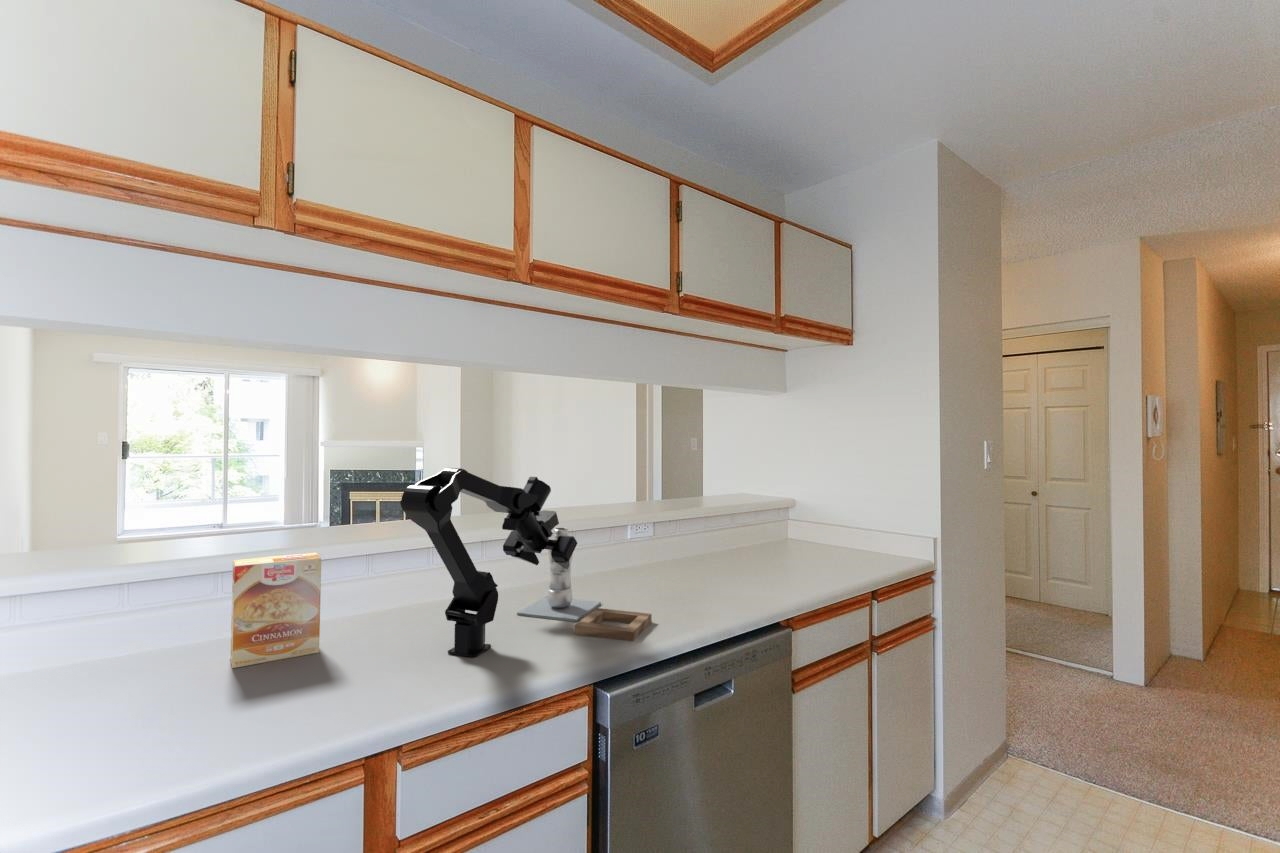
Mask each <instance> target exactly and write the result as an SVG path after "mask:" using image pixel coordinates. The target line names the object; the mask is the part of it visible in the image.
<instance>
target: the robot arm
mask: <svg viewBox="0 0 1280 853" xmlns="http://www.w3.org/2000/svg"><path fill="white" fill-rule="evenodd" d="M551 491H552V489H551V486H550V485H548V483H546V482H544V481H543V480H541V479H539V478H538V476H529V477H528V479H527V481H526V483H525V485H524V487H523V488H521V487H513V486H504V485H498V484H496V483H494V482H492V481H490V480H487V479H485V478H482V477H480V476H478V475H476V474H473V473H471V472H469V471H468V470H466V469H464V468H458V467H446V468H443V469H441V470H440V471H439V472H437V473H436V474H433V475H431V476H428V477H427V478H424V479H421V480H419V481H417V483H415V484H411V485H410V484H409V486H407V487H406V488H405V489H404V490H403V493H402V495H401V500H400V501H399V502H400V506H401V509H402V511H403V512H404V514H406V516H407V517H408V518H409V519H410V521H412V522H413V523H415V524H416V525H417V526H419V527H420V528H421V529H423V530H424V531H425V532H426V534H427V536H428V537H429V539H430V541H431V543H432V544H433V546H434V548H435V550H436V552H437V554H438V555H439V557H440V559H441V561H442V562H443V564H444V566H445V568H446V570H447V571H448V574H449V575H450V577H451V578H452V580H453V587H452V595H453V598H452V599H451V601H450V602H449V605H448V606H447V608H446V609H445V611H444V613H445V618H446V621H448V622H450V621H452V622H455V623H454V644H453V645H454V647H452V648H450V649H449V650H447V654H448V655H449V654H450V655H456V656H462V657H463V656H465V657H470V658H475V657H478V656H479V655H481V654H482V653H484V652H486V651H487V650H490V648H491V647H492V644H489V643H486V624H488V623H491V622H493V621H494V619H495V614H496V611H497V607H498V606H497V605H498V601H499V591H498V587H499V586H498V584H497V583H496V582H495V581H494V578H493V575H492V573H491V572H490V571H489V572H488V571H481V570H477V568H476V566H475V564H474V562H473V560H472V559H471V556H470V554H469V553H468V550H467V548H466V547H465V545H464V543H463V541H462V539H461V537H460V535H459V533H458V531H457V530H456V528H455V526H454V524H453V522H452V520H451V517H452V512H453V505H452V504H453V503H455V502H456V501H457V500H458V499H459V496H460V493H461V494H465V495H467V496H469V497H472V498H475V499H478V500H480V501H483V502H484V503H485V504H486V506H487V507H488V508H489V509H491V510H493V512H496V513H501V514H503V513H505V514H507V515H506V516H505V518H504V519H503V522H502V526H501V529H502V531H503V530H505V531H510V533H509V535H508V536H507V538H506V539H505V542H503V545H502V551H503V552H504V553H505V555H506V556H510V557H512V558H516V559H518V560H521V561H524V562H527V563H529V564H532V565H535V566H538V565H539V564H540V561H539V558H538V556H537V554H541V553H542V551H543V550H548V549H549V550H552V551H551V557H552V558H553V559H554V560H555V561H554V562H555V563H557V564H559V565H560V566H562V567H564V568H565V569H568V568H569V566H570V564H569V560H570V558H571V556H572V557H573V555H574V551H575V549H576V547H577V545H578V541H577V539H576V538H575V535H568V536H565V535H561V536H559V537H558V539H557V540H554V539H549V538H551V537H552V536H553V535H554V532H553V531H552V530H554V529H555V528H556V526H558V525H559V524H560V523H559V518H558V514H557V511H554V510H542V508H543V507H544V505H545V503H546V501H547V500H548V497H549V496H550V494H551ZM572 554H573V555H572ZM466 611H470V612H466ZM471 612H474V613H471Z"/></svg>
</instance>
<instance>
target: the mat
mask: <svg viewBox="0 0 1280 853" xmlns="http://www.w3.org/2000/svg"><path fill="white" fill-rule="evenodd" d="M601 603H602V601H595V600H587V599H586V600H585V599H583V600H582V599H574V598H572V602H571V604H570V605H569V606H568V607H563V608H555V607H551V606H550V605H549V604H548V599H547V595H546V596H544V597H542V598H541V599H538V600H537V601H535V602H534V603H531V604H530V605H528V606H527V607H525V608H523V609H521V610H519V611H517V613H516V615H517V616H520V617H521V616H522V617H531V618H538V619H539V618H540V619H546V620H555V621H556V620H557V621H563V622H564V621H566V622H572V623H573V622H575V623H578V622H579V621H580V620H582V619H583V618H585V617H586V616H587V615H589V614H590V613H591V612H593V611H594V610H595V609H597V608H599V606H601Z"/></svg>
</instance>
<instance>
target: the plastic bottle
mask: <svg viewBox="0 0 1280 853" xmlns="http://www.w3.org/2000/svg"><path fill="white" fill-rule="evenodd" d="M561 535H565V536H569V528H568V527H554V528H553V537H554V538H553V540H557V539H558V537H559V536H561ZM547 550H548V551H547V552H548V560H549V584H548V588H547V595H546V596H547V599H548V604H549V605H550V606H551V607H555V608H563V607H568V606H569V605H570V604H571V602H572V599H573V590H572V579H571V574H572V572H571V570H572V561H573V555H574V553H573V554H572V556H571V558H570V560H569V564H570V566H569V568H568V569H565V568H564V567H562V566H560V565H559V564H557V563H555V562H554V561H555V560H554V559H553V558H552V557H551V551H552V550H549V549H547Z"/></svg>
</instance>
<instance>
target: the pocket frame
mask: <svg viewBox="0 0 1280 853" xmlns="http://www.w3.org/2000/svg"><path fill="white" fill-rule="evenodd" d="M652 618H653V616H652V613H649V612H648V613H646V612H638V611H629V610H628V611H627V610H620V609H619V610H618V609H610V608H609V609H608V608H600V607H596V608H595V609H594V610H592V611H591V612H589V613H588V614H587V615H585V616H584V617H583V618H581V619H580V620H578V621H577V622H575V624H574V629H573V630H574V635H581V636H590V637H596V638H597V637H598V638H605V639H614V640H623V641H631V642H634V641H635V640H636V639H637V638H638V637H639V636H640V634H642V632H644V631H645V630H646V628H648V626H650V625H651V624H652ZM603 621H607V622H616V623H617V622H618V623H625V624H628V625H627V626H619V625H613V624H612V625H611V624H603V623H601V622H603Z"/></svg>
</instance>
